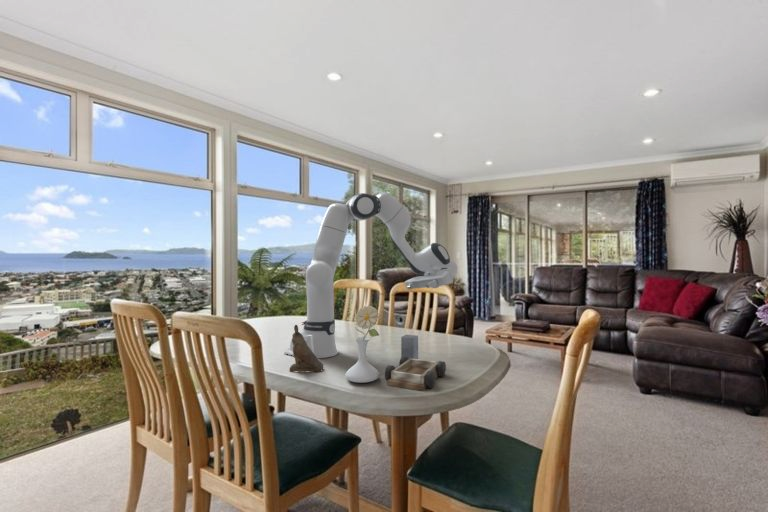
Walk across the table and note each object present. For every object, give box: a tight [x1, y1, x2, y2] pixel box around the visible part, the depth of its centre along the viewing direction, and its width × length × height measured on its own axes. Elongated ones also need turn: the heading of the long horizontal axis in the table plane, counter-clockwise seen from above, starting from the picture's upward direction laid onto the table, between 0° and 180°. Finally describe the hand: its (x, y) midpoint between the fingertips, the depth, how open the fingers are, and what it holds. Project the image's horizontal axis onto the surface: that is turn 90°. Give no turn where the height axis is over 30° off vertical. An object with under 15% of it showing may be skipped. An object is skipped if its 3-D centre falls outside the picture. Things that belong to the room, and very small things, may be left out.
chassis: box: [384, 356, 447, 392], centre depth 126 cm, size 15×20×5 cm
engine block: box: [400, 334, 419, 360], centre depth 145 cm, size 5×5×10 cm
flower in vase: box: [344, 305, 381, 384], centre depth 124 cm, size 13×11×25 cm
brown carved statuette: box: [289, 324, 324, 372], centre depth 135 cm, size 12×6×18 cm, turn 86°
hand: (417, 287), depth 151 cm, fingers open, 8 cm apart
